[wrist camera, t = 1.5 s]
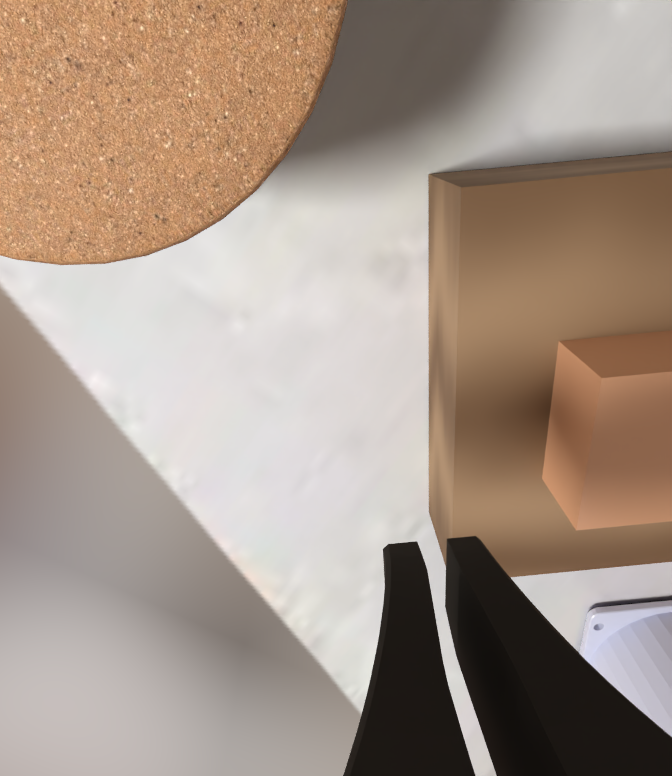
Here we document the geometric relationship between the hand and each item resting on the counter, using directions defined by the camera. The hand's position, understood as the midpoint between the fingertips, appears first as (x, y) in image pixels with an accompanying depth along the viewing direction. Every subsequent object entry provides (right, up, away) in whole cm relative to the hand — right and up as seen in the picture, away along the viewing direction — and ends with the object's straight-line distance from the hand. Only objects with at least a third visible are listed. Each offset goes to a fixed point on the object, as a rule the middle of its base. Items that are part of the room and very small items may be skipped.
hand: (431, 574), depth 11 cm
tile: (+7, +3, +5) cm, 10 cm away
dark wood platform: (+9, +5, +9) cm, 14 cm away
